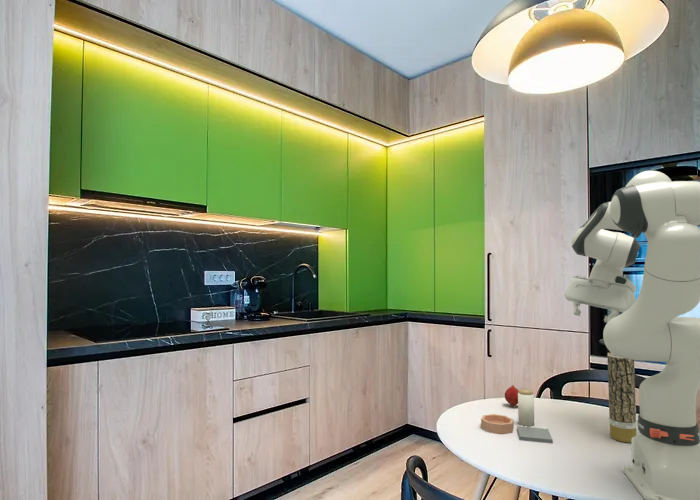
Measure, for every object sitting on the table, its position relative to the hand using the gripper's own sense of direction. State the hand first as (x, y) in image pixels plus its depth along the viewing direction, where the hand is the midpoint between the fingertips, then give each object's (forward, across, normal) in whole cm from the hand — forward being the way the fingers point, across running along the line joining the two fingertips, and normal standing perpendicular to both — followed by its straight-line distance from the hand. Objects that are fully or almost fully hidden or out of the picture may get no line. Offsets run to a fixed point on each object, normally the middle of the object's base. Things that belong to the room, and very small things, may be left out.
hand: (591, 318), depth 141 cm
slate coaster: (+41, -3, -4) cm, 42 cm away
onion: (+36, -23, +17) cm, 45 cm away
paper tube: (+31, +15, +12) cm, 36 cm away
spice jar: (+39, -10, +3) cm, 40 cm away
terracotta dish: (+44, -14, -6) cm, 47 cm away
